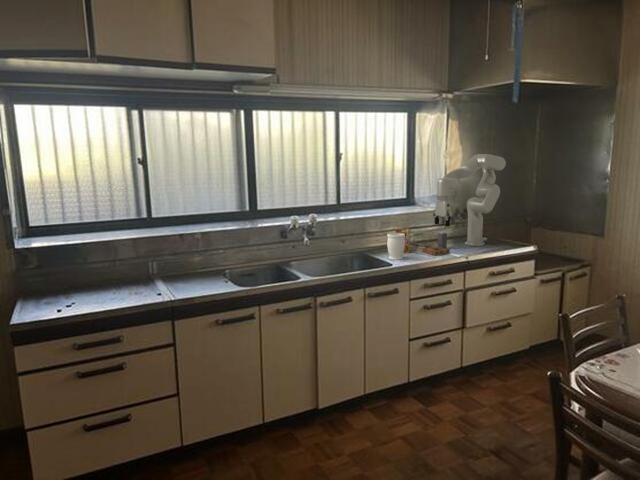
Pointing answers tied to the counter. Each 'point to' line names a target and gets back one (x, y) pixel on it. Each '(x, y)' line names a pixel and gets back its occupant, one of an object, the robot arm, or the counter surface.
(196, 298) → the counter surface
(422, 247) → the socket block
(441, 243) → the grey rectangular block
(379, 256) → the counter surface
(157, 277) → the counter surface
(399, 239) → the jar
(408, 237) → the candy box
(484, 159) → the robot arm
